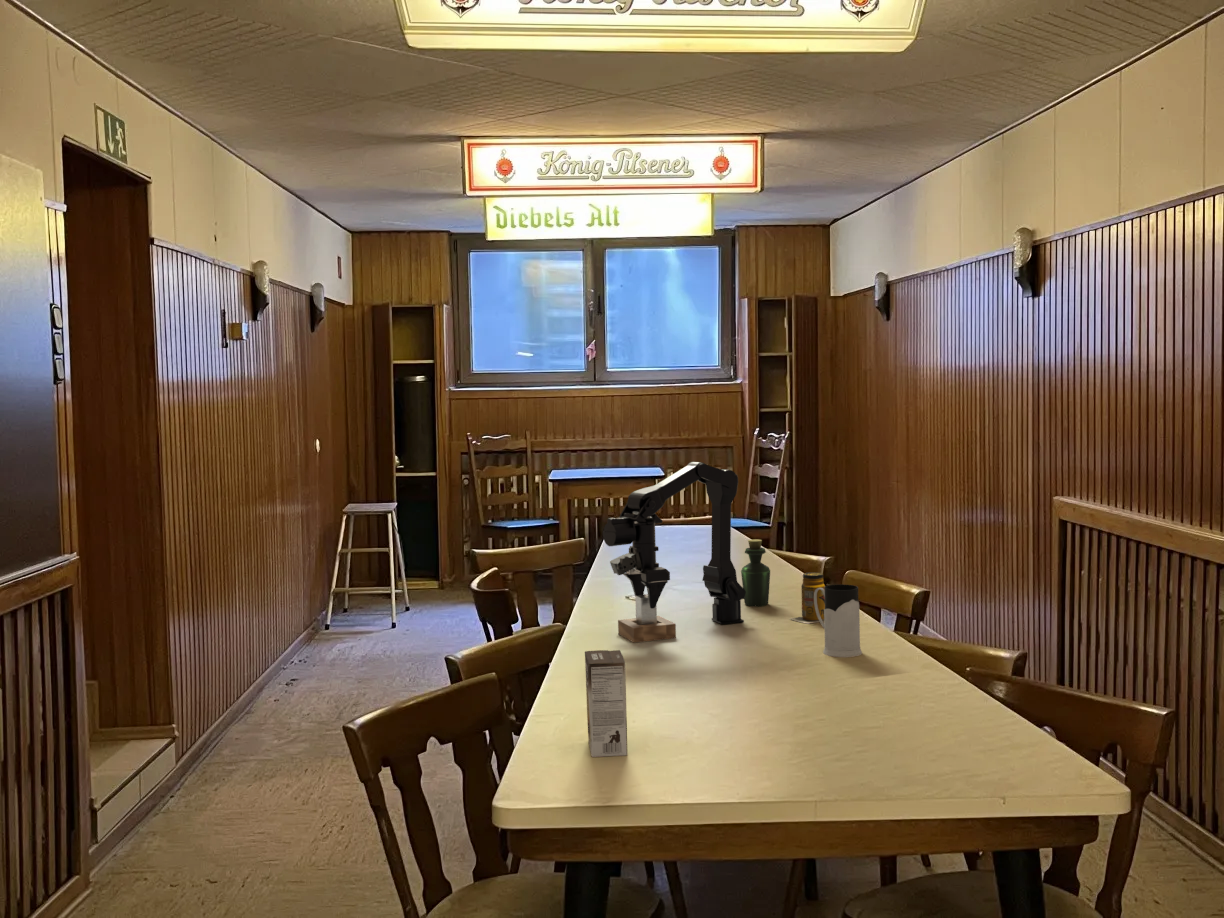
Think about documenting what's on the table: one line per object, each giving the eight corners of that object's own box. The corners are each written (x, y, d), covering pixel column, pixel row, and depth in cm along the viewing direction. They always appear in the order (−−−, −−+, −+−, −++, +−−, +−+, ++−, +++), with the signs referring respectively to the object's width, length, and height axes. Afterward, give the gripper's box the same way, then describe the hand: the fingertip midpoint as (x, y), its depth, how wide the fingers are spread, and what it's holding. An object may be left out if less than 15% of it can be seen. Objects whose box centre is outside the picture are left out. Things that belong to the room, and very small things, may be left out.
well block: (659, 629, 289) (658, 615, 288) (675, 637, 278) (675, 623, 278) (618, 633, 285) (618, 619, 285) (634, 642, 275) (633, 628, 274)
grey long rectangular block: (651, 633, 284) (650, 594, 284) (657, 636, 280) (656, 596, 280) (636, 635, 283) (635, 595, 282) (642, 638, 279) (641, 598, 278)
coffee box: (587, 741, 199) (584, 650, 198) (623, 739, 200) (620, 648, 199) (590, 757, 190) (587, 663, 189) (628, 755, 191) (625, 661, 190)
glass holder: (839, 659, 252) (838, 592, 251) (800, 646, 265) (799, 583, 264) (870, 653, 256) (869, 587, 255) (830, 642, 269) (829, 579, 268)
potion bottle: (770, 601, 321) (769, 538, 320) (771, 607, 313) (770, 542, 312) (741, 601, 322) (740, 538, 321) (742, 607, 314) (740, 542, 313)
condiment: (832, 619, 294) (831, 573, 293) (808, 624, 289) (807, 577, 289) (813, 615, 300) (812, 570, 299) (789, 619, 296) (788, 574, 295)
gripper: (600, 540, 286) (602, 601, 287) (626, 549, 269) (628, 614, 270) (641, 537, 290) (643, 597, 291) (670, 546, 272) (671, 610, 273)
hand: (645, 605), depth 281 cm, fingers open, 9 cm apart
